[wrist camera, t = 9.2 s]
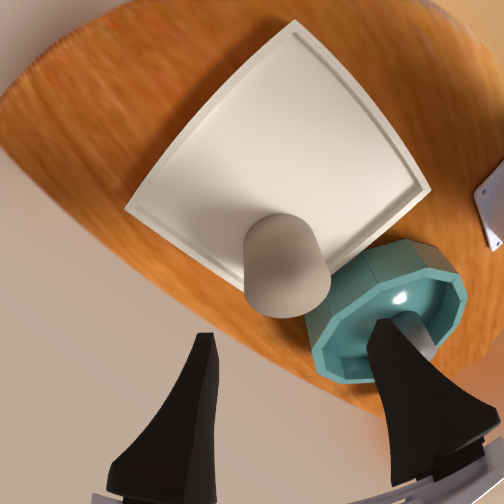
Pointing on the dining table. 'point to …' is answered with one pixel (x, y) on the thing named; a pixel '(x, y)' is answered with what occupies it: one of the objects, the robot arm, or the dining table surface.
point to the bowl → (382, 304)
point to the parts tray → (281, 161)
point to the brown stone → (283, 267)
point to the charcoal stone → (415, 332)
